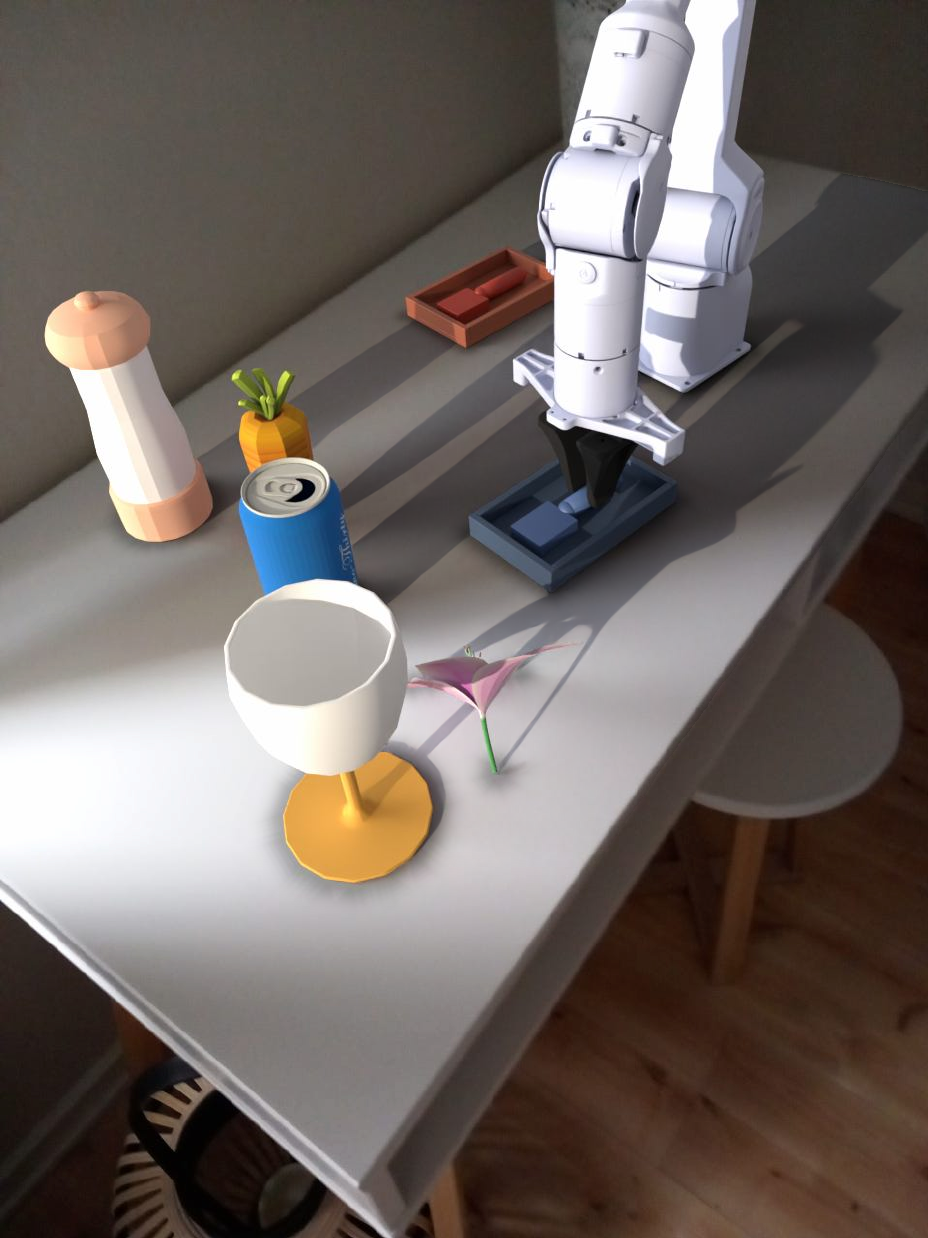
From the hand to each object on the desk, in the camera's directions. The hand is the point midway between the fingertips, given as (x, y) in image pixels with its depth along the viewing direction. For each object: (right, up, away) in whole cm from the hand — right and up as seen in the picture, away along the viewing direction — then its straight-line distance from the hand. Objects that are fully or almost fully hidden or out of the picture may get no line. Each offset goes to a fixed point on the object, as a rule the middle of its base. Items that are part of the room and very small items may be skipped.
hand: (590, 493), depth 75 cm
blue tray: (-1, -2, 0) cm, 2 cm away
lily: (-9, -16, -12) cm, 22 cm away
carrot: (-23, -3, +1) cm, 23 cm away
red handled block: (-7, +22, +22) cm, 32 cm away
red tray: (-7, +22, +22) cm, 32 cm away
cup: (-16, -22, -16) cm, 31 cm away
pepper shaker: (-34, -1, +4) cm, 34 cm away
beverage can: (-20, -9, -5) cm, 23 cm away
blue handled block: (-1, -2, 0) cm, 2 cm away
